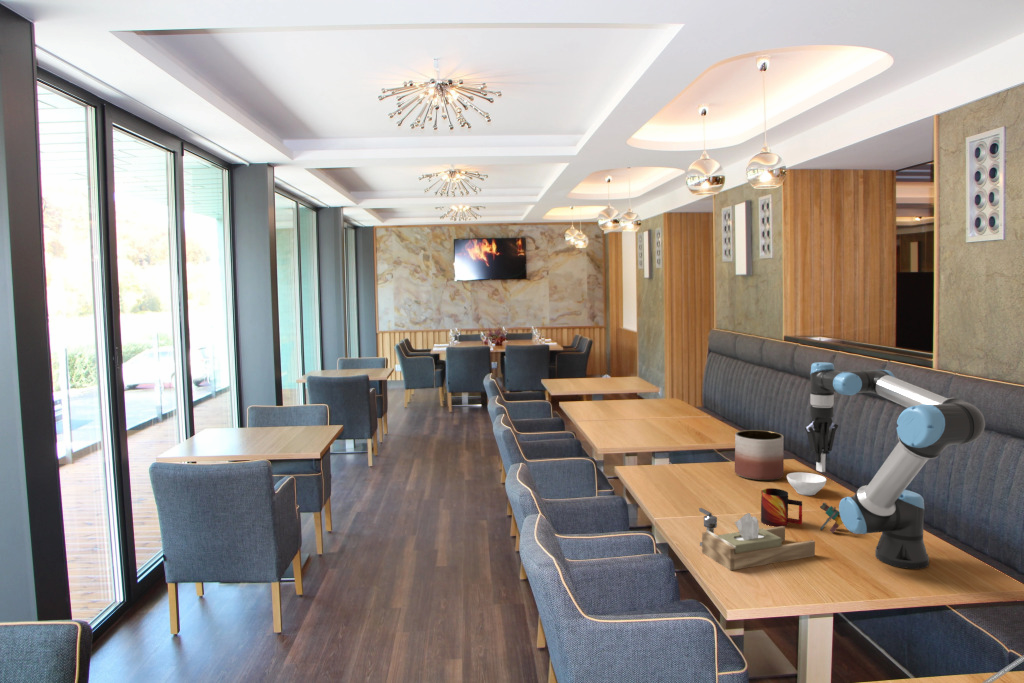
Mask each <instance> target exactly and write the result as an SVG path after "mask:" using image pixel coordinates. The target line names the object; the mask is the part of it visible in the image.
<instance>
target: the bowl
mask: <svg viewBox="0 0 1024 683" xmlns="http://www.w3.org/2000/svg"><path fill="white" fill-rule="evenodd" d="M786 479H787V482H788V483H789V485H790V486H791V487H792V488H793V489H794V490H795V492H796V493H797V494H798V495H802V496H815V495H816V494H817V493H818V492H819V491H820V490H822V489H823V488H824V486H826V484H827V478H826V477H825V476H823V475H822V474H821V475H820V474H818V473H817V474H816V473H811V472H810V473H809V472H799V471H798V472H790V473H787V475H786Z"/></svg>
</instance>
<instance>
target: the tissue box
mask: <svg viewBox="0 0 1024 683" xmlns="http://www.w3.org/2000/svg"><path fill="white" fill-rule="evenodd" d="M734 524H735V526H736V528H737V530H738V531H736V532H730V533H724V534H723V533H721V534H718V535H717V536H719V537H720V538H722V539H724V540H726V541H727V542H729V543H731V544H733V545H734V546H736V549H734V553H741V552H747V551H753V550H759V549H765V548H771V547H778V546H782V545H783V544H782V542H783V541H782V538H780V537H778V536H776V535H774V534H772V533H770V532H768V531H766V530H764V529H765V528H762V527H761V528H760V526H759V520H758V518H757V516H752V515H751V513H749V512H748V513H746V514H744V515H743V516H742V517H741V518H740V519H739V518H738V520H736V521H735V522H734Z"/></svg>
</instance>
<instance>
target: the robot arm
mask: <svg viewBox="0 0 1024 683" xmlns="http://www.w3.org/2000/svg"><path fill="white" fill-rule="evenodd" d="M809 374H810V375H809V376H810V397H809V398H810V405H811V406H810V407H809V415H810V418H811V420H810V422H809V423H810V424H809V425H805V426H804V429H805V431H806V434H807V440H808V445H809V451H810V452H812V453H814V455H815V456H814V460H815V461H814V462H815V464H816V465H815V470H816V471H818V472H820V473H826V463H827V457H828V456H827V455H829V454H830V452H831V451H832V450H833V445H834V440H835V436H836V432H837V429H838V427H839V425H838V424H837V423H834V422H833V419H832V418H833V417H834V405H835V404H834V403H835V402H834V400H835V399H834V398H835V396H834V395H835V393H836V394H839V395H843V396H854V395H857V394H863V393H864V394H865V393H872V394H876V395H877V396H880V397H883V398H885V399H887V400H889V401H892V402H893V403H896V404H898V405H901V406H902V407H904V408H905V409H904V410H903V411H902V412H901V413H900V414H899V416H898V418H897V421H896V424H897V426H896V434H897V438H898V442H897V443H896V445H895V446H894V448H893V449H892V451H891V452H890V454H889V455H888V456H887V458H886V459H885V461H884V462H883V464H882V465H881V466H880V468H879V469H878V470H877V472H876V474H874V476H873V478H872V479H871V481H870V482H869V483H868V485H867V484H866V485H862V486H860V487H859V488H858V489H857V490H856V492H855V493H854V495H853V496H846V497H843V498H841V500H840V501H839V505H838V511H839V512H840V517H841V520H842V522H843V523H842V524H843V525H844V527H845V528H846V529H847V530H848V532H851V533H853V534H855V535H861V534H862V535H866V534H867V535H868V534H875V533H881V535H880V537H879V540H878V542H877V545H876V547H875V553H874V556H875V558H876V559H877V560H878V561H880V562H882V563H885V564H887V565H890V566H893V567H898V568H901V569H909V570H920V569H921V570H922V569H926V568H927V567H928V566H929V565H930V557H929V554H928V553H927V549H926V548H927V547H926V546H925V542H924V527H925V525H924V524H925V519H924V518H925V510H926V509H925V508H926V507H925V500H924V497H923V496H922V495H921V494H919V493H917V492H914V491H911V490H909V489H907V487H908V486H909V485H910V483H912V481H913V480H914V479H915V477H916V476H917V475H918V474H919V472H921V469H923V467H924V466H925V465H926V463H927V462H928V461H929V460H930V459H931V460H932V459H937V458H938V457H939V456H941V454H942V453H943V451H944V450H945V449H946V448H947V447H948V446H953V445H954V446H955V445H966V444H970V443H972V442H974V441H976V440H978V439H979V438H980V437H982V434H983V433H984V432H985V428H986V421H985V416H984V415H983V413H982V411H981V410H980V409H979V408H978V407H976V406H975V405H974V404H972V403H969V402H967V401H965V400H963V399H959V398H956V397H950V398H949V397H948V398H947V397H946V396H943V395H940V394H938V393H934V392H932V391H930V390H928V389H925V388H923V387H921V386H918V385H914V384H912V383H909V382H907V381H905V380H902V379H899V378H897V377H896V376H895V375H894V374H893V372H892V371H891V370H887V369H871V370H870V369H868V370H847V371H846V370H845V371H842V370H836V369H835V365H834V363H832V362H824V361H823V362H820V361H819V362H813V363H811V365H810V373H809Z"/></svg>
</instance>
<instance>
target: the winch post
mask: <svg viewBox="0 0 1024 683" xmlns="http://www.w3.org/2000/svg"><path fill="white" fill-rule="evenodd" d="M698 511H699V512H700V513H702V514H704V516H703V527H705V528H706V530H708V531H710V532H712V533H713V534H715V529H716V528H717V527H718V518H717V516H715V515H712V512H710V511H709V510H706V509H704V508H702V507H699V508H698ZM699 545H700V546H701V547H702V541H700V542H699Z"/></svg>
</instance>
